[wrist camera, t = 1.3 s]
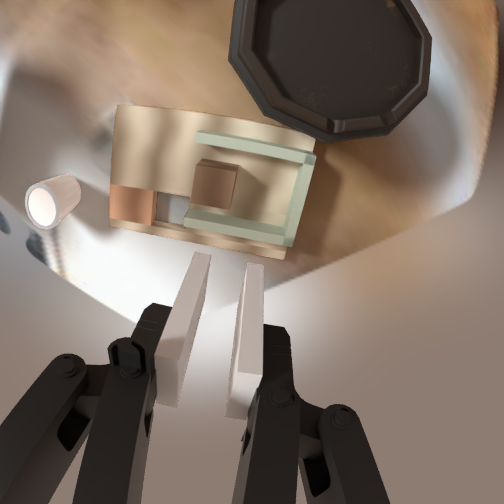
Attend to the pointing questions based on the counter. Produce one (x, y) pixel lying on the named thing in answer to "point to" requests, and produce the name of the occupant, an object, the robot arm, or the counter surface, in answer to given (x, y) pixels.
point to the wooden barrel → (332, 63)
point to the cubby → (249, 227)
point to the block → (214, 183)
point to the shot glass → (52, 200)
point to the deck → (183, 168)
